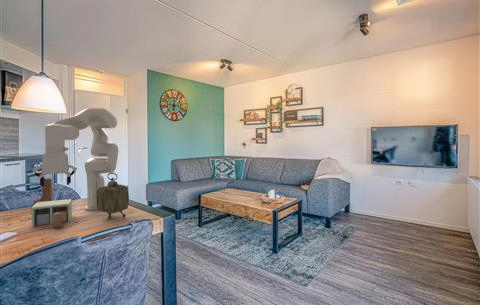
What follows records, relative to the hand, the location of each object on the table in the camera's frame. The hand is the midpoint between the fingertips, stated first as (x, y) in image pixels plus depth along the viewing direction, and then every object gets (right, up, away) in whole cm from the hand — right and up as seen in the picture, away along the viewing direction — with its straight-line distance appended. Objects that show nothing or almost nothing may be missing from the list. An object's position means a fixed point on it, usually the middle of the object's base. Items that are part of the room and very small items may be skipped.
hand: (55, 185), depth 116 cm
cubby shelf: (-10, -20, +11) cm, 25 cm away
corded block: (-3, -21, +7) cm, 22 cm away
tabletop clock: (+19, -20, +17) cm, 32 cm away
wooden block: (-39, -19, +41) cm, 60 cm away
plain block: (-12, -21, +8) cm, 26 cm away
